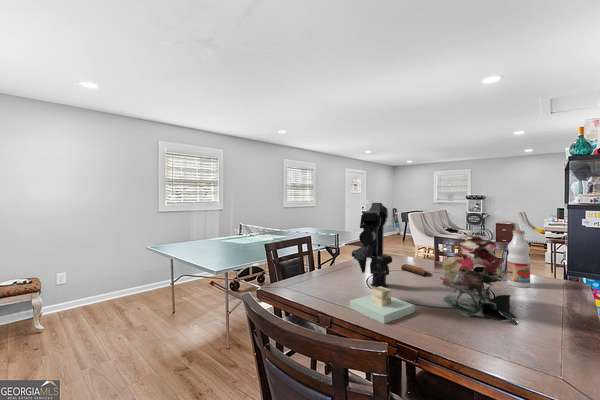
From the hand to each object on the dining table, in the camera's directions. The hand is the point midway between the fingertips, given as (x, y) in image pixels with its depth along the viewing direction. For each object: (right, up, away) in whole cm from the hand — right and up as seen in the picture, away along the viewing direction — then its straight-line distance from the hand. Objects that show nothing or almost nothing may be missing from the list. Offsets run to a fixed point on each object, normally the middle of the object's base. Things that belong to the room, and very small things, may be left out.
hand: (371, 275), depth 127 cm
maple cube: (+2, -9, -10) cm, 13 cm away
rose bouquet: (+41, -11, -8) cm, 43 cm away
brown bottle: (+39, -11, +46) cm, 62 cm away
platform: (+2, -12, -10) cm, 15 cm away
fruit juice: (+81, -11, +21) cm, 84 cm away
